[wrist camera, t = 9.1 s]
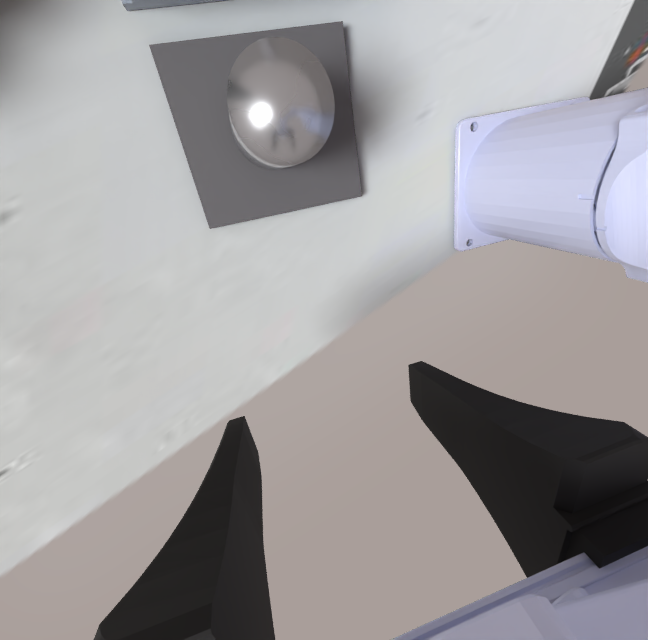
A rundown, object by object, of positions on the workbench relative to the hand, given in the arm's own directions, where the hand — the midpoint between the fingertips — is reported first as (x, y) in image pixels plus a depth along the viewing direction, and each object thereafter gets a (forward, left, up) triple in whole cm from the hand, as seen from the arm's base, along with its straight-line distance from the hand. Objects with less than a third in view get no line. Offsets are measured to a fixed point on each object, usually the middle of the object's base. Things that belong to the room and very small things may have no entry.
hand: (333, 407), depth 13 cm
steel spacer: (-1, -11, -9) cm, 14 cm away
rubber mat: (-1, -11, -9) cm, 15 cm away
